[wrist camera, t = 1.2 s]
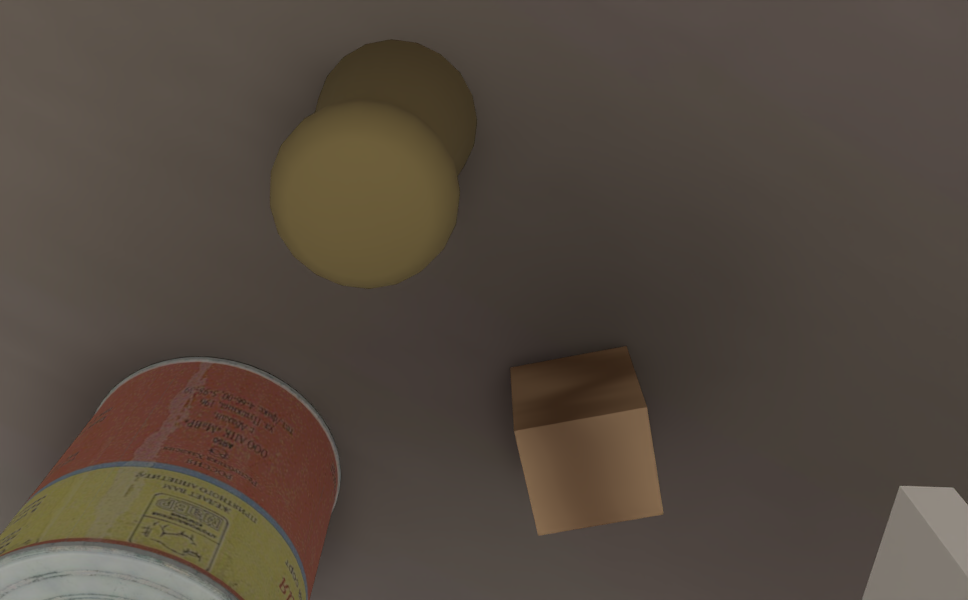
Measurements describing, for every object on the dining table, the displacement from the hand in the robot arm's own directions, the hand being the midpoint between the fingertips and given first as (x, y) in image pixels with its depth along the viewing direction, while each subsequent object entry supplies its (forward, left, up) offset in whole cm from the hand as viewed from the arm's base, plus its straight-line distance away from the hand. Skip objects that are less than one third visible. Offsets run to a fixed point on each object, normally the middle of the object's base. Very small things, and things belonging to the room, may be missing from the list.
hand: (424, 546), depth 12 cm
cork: (+2, -1, -23) cm, 23 cm away
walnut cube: (-6, +11, -23) cm, 26 cm away
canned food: (+11, +15, -23) cm, 29 cm away
